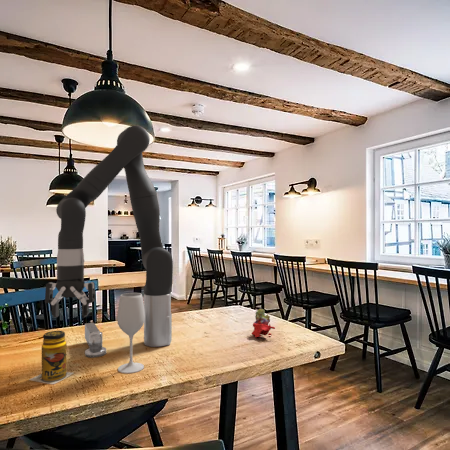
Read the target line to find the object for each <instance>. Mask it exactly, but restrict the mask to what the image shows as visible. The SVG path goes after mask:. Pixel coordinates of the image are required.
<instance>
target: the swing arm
mask: <svg viewBox="0 0 450 450" xmlns="http://www.w3.org/2000/svg"><path fill="white" fill-rule="evenodd" d="M84 339H85V342H86V343H87V346H88V349H89V351H99V350H102V347H103V332H102V331H100V330H99V328H98V326H97V325H96V323H95V322H90V323H89V322H88V323H84Z"/></svg>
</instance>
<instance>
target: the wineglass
mask: <svg viewBox="0 0 450 450" xmlns="http://www.w3.org/2000/svg"><path fill="white" fill-rule="evenodd" d="M119 296H120V297H119V300H118V301H119V302H118V306H117V317H116V319H117V320H116V321H117V325H118V327H119V329H120V330H121V331H122V332H123V333H124V334H126V335H127V336H128V338H129V362H128V363H123V364H121V365H120V366H118V368H117V372H119V373H121V374H135V373H139V372H141V371H143V370H144V367H145V365H144V364H143V363H142V362H141V363H140V362H134V360H133V341H134V340H133V339H134V336H135V334H137V333H139V331H140V330H141V329H142V327H144V320H145V311H144V297H143V294H142V293H141V292H127V293H126V292H125V293H122V294H120V295H119Z"/></svg>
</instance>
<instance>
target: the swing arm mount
mask: <svg viewBox="0 0 450 450" xmlns="http://www.w3.org/2000/svg"><path fill="white" fill-rule="evenodd" d="M106 354H107V348H106V347H104V346H102V350H99V351H89V348H87V349H85V351H84V356H85V358H89V359H90V358H91V359H92V358H100V357H103V356H105V355H106Z"/></svg>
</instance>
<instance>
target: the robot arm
mask: <svg viewBox="0 0 450 450" xmlns="http://www.w3.org/2000/svg"><path fill="white" fill-rule="evenodd" d="M150 141H151V140H150V135H149V132H148V131H147V129H145V128H144V127H142V126H140V125H130V126H128V127H125V129H124V130H122V131H121V132H120V133H119V134H118V137H117V139H116V145H115V147H113V149H112V150H111V151H110V152H109V153H108V155H107V156H106V157H104V158H103V159H102V160H101V161H100V162H99V163H98V164H96V165H95V166H94V167H93V168H92V169H91V170H90V171H88V173H87V174H86V175H85V176H84V177H83V179H81V180H80V181H79V183H78V184H77V186H76V187H74V189H72V190H71V191H70V192H69V193H68V194H67V195H66V196H64V197H63V198H62V199H61V200H60V201H59V202H58V204H57V206H56V210H55V212H56V214H57V215H56V216H57V217H58V218H59V219H60V230H59V232H58V235H57V255H56V283H55V282H52V281H51V282H48V283H46V284H45V295H44V303H45V304H49V305H50V306H51V315H52V317H53V318H58V317H59V315H60V304H59V302H60V301H61V300H62V299H63V298H77V299H78V300H79V301H80V302H81V303H82V305H81V318H86V317H88V315H89V313H90V311H89V310H90V304H91V303H93V302H95V301H96V288H95V285H96V284H95V282H94V281H91V282H85V280H84V279H85V254H84V235H83V234H84V229H85V223H86V216H87V215H86V214H87V213H86V208H87V207H88V206H89V205H90V204H91V203H92V202H94V201H95V200H97V199H98V198H99V197H100V196H101V195H102V193H103V192H105V190H106V189H107V188H109V186H110V185H111V184H112V182H113V181H114V179H116V178H117V176H118V175H119V174H120V172H121V171H123V169H124V173H125V179H126V184H127V188H128V195H129V200H130V205H131V209H132V213H133V218H134V221H135V225H136V229H137V232H138V236H139V240H140V247H141V248H140V249H141V250H140V251H141V262H142V264H143V267H144V269H145V284H144V287H143V303H144V311H145V320H144V324H143V344H144V345H145V346H147V347H150V348H151V347H152V348H153V347H154V348H159V347H163V346H170V345H171V342H172V340H173V339H172V336H173V333H172V329H173V328H172V327H173V326H172V325H173V324H172V322H173V321H172V320H173V318H172V316H173V315H172V312H171V311H172V309H171V308H172V305H171V304H172V300H171V299H172V297H171V295H172V293H171V292H172V286H173V281H174V280H173V278H174V263H173V262H174V261H173V259H174V258H173V256H172V253H171V252H169V250H167V249H165V248H164V245H163V242H162V241H163V240H162V238H161V237H162V236H161V232H160V218H161V215H160V211H161V210H160V204H159V199H158V195H157V194H158V193H157V191H156V188H155V186H154V184H153V182H152V181H151V178H150V176H149V175H148V174H147V171H146V168H145V165H144V158H143V157H144V156H143V153H144V152H145V151H146V150H147V149H148V147H149V145H150ZM55 289H56V290H57V291H58V292H57V293H56V295H55V296H54V290H55ZM84 289H86V290H87V294H88V296H87V294H86V293H85V292H84V291H83V290H84Z"/></svg>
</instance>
